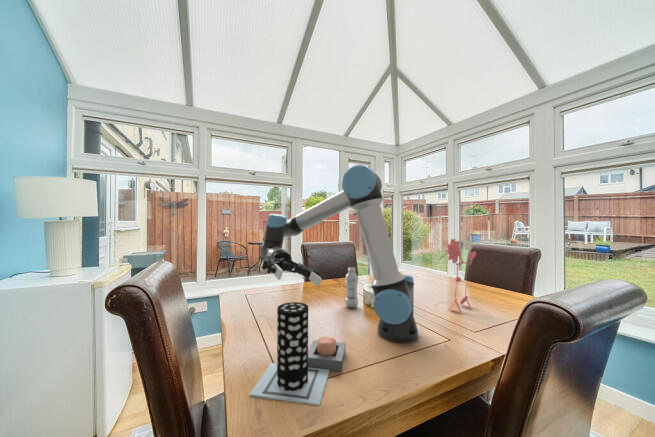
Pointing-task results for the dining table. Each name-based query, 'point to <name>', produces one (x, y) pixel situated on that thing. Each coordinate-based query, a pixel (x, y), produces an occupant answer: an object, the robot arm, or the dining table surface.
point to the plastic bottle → (351, 288)
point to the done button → (326, 346)
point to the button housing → (326, 357)
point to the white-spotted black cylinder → (292, 346)
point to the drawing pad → (307, 394)
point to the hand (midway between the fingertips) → (301, 279)
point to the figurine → (453, 255)
